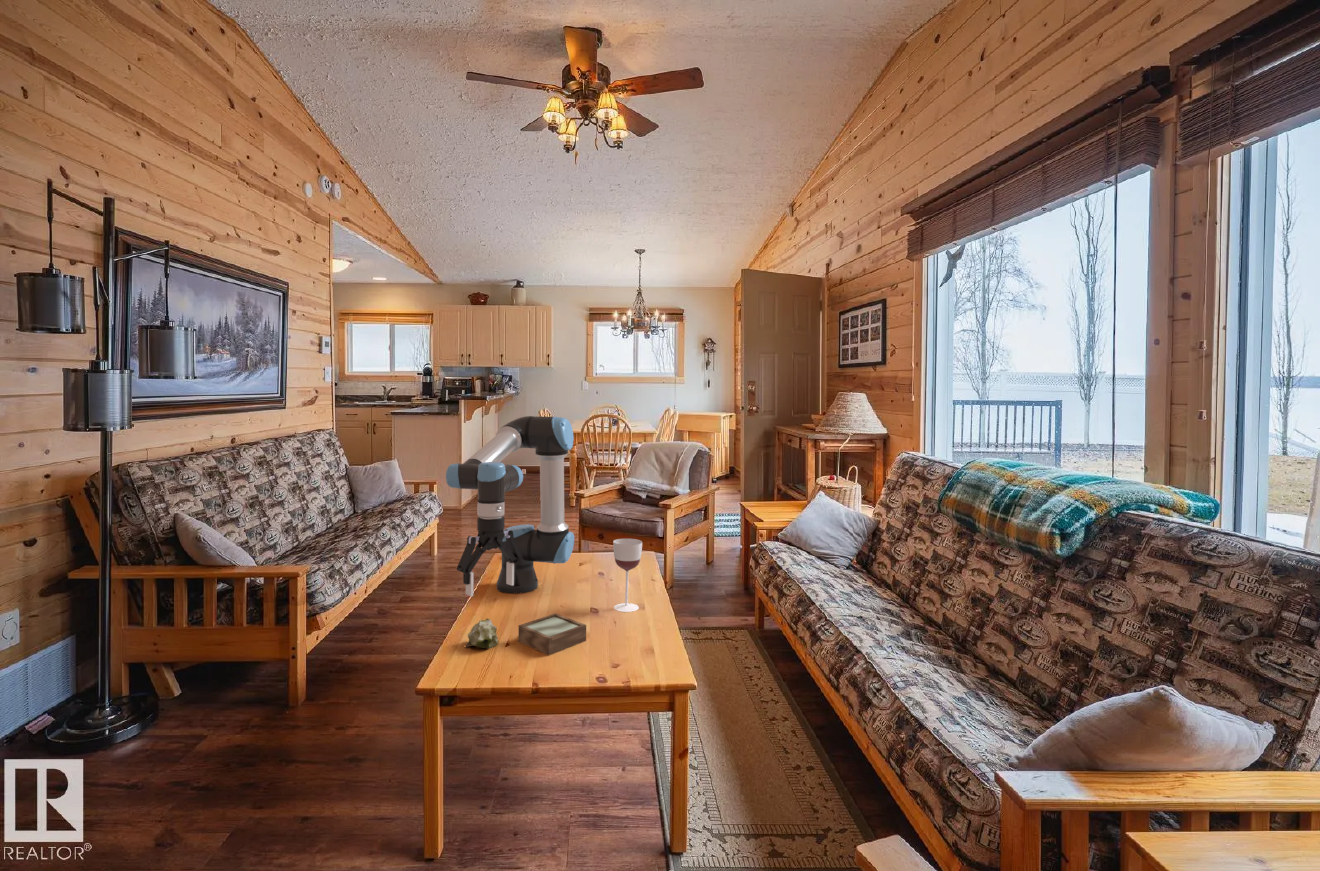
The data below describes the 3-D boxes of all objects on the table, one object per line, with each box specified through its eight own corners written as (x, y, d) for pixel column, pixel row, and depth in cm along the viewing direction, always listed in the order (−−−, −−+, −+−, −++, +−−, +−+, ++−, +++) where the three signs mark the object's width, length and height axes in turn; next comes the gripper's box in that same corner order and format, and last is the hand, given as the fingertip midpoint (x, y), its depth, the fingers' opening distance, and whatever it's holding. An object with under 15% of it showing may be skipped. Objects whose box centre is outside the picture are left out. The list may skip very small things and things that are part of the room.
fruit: (477, 642, 181) (482, 615, 181) (503, 650, 177) (508, 622, 178) (457, 647, 172) (462, 619, 173) (484, 656, 169) (489, 627, 169)
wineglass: (637, 613, 204) (638, 545, 203) (608, 610, 206) (610, 543, 204) (643, 604, 213) (645, 539, 211) (615, 601, 215) (617, 537, 213)
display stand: (518, 641, 179) (518, 625, 178) (555, 628, 189) (555, 613, 189) (549, 655, 170) (549, 638, 169) (586, 640, 180) (586, 624, 180)
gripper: (459, 524, 162) (458, 602, 163) (534, 512, 181) (533, 583, 182) (444, 520, 166) (443, 596, 168) (518, 509, 185) (518, 577, 187)
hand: (490, 589), depth 175 cm, fingers open, 13 cm apart
